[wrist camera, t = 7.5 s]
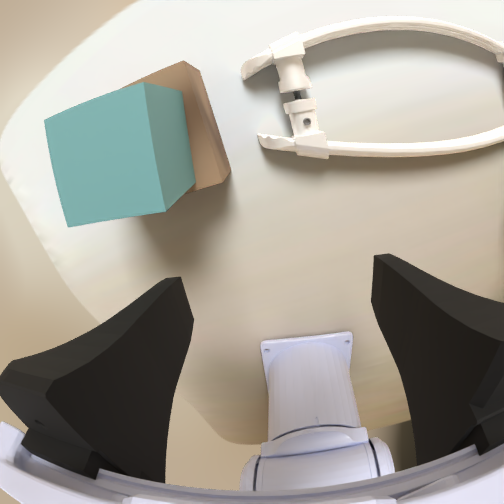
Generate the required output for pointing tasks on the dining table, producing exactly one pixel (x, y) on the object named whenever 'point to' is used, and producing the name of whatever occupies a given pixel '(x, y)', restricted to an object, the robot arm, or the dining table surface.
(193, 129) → the walnut block
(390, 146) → the white curved loop
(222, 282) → the dining table surface
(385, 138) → the dining table surface
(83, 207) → the teal cube
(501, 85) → the dining table surface
